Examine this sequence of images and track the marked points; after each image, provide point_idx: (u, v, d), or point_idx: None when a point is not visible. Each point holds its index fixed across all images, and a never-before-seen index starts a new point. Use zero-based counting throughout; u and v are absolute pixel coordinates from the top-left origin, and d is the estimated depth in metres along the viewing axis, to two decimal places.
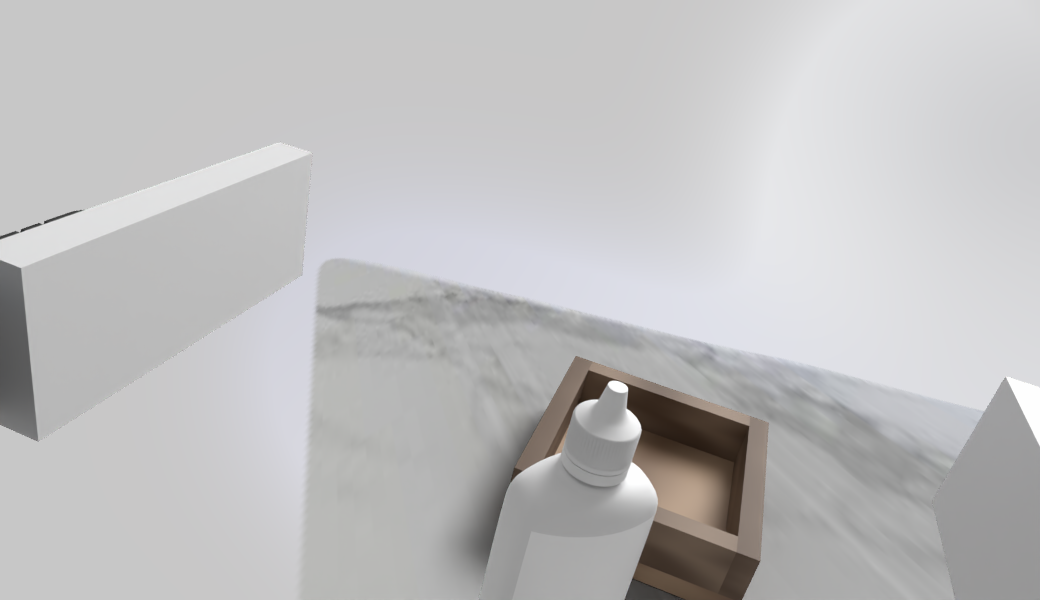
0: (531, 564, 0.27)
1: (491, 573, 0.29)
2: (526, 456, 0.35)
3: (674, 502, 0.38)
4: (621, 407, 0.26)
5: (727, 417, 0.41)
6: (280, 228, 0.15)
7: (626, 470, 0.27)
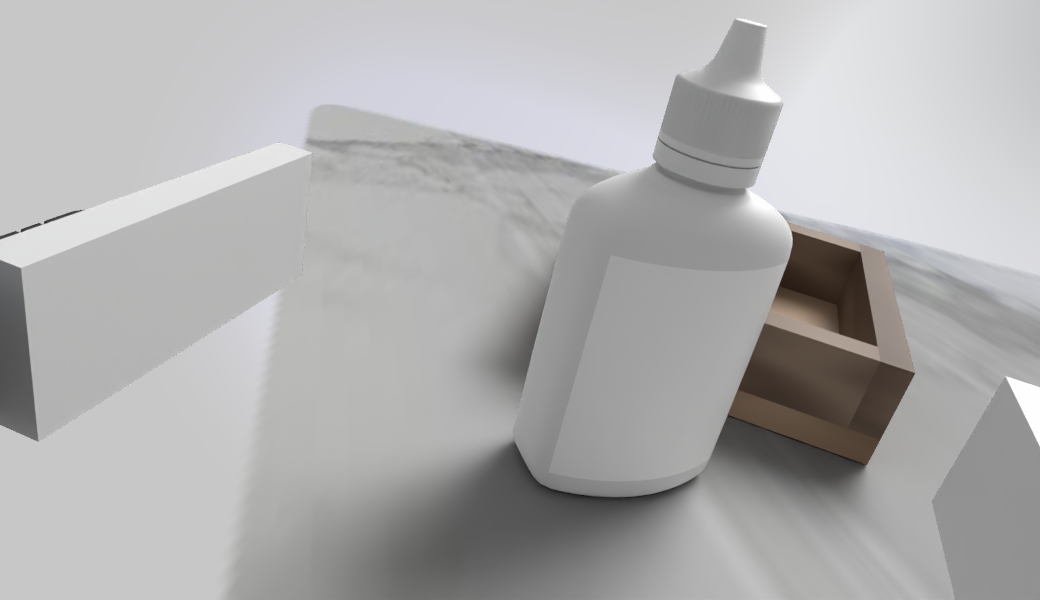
0: (607, 317, 0.18)
1: (541, 353, 0.20)
2: None
3: None
4: (757, 53, 0.17)
5: (830, 242, 0.32)
6: (280, 228, 0.15)
7: (757, 167, 0.17)
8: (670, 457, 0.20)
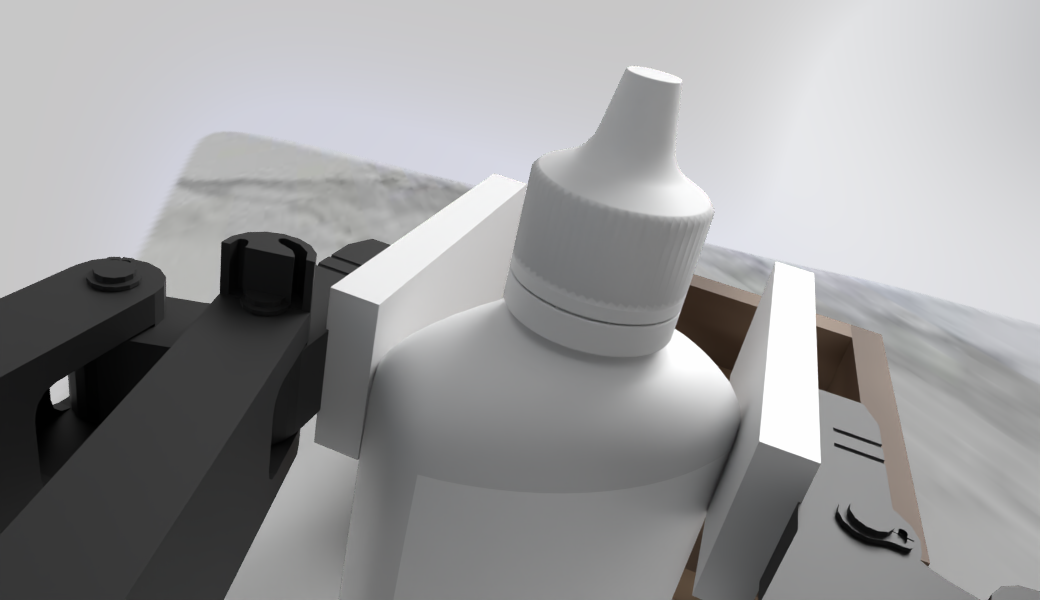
0: (423, 565, 0.11)
1: (347, 585, 0.12)
2: None
3: None
4: (663, 129, 0.09)
5: None
6: (500, 255, 0.16)
7: (672, 318, 0.10)
8: None
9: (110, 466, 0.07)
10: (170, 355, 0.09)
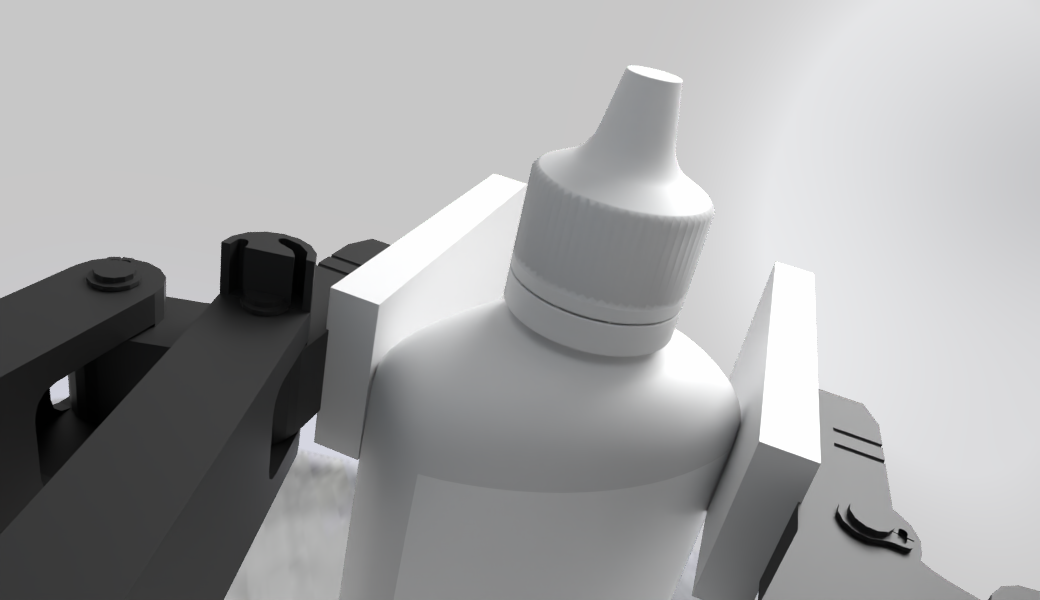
0: (424, 565, 0.11)
1: (347, 584, 0.12)
2: None
3: None
4: (664, 128, 0.09)
5: None
6: (500, 255, 0.16)
7: (672, 317, 0.10)
8: None
9: (110, 466, 0.07)
10: (170, 355, 0.09)
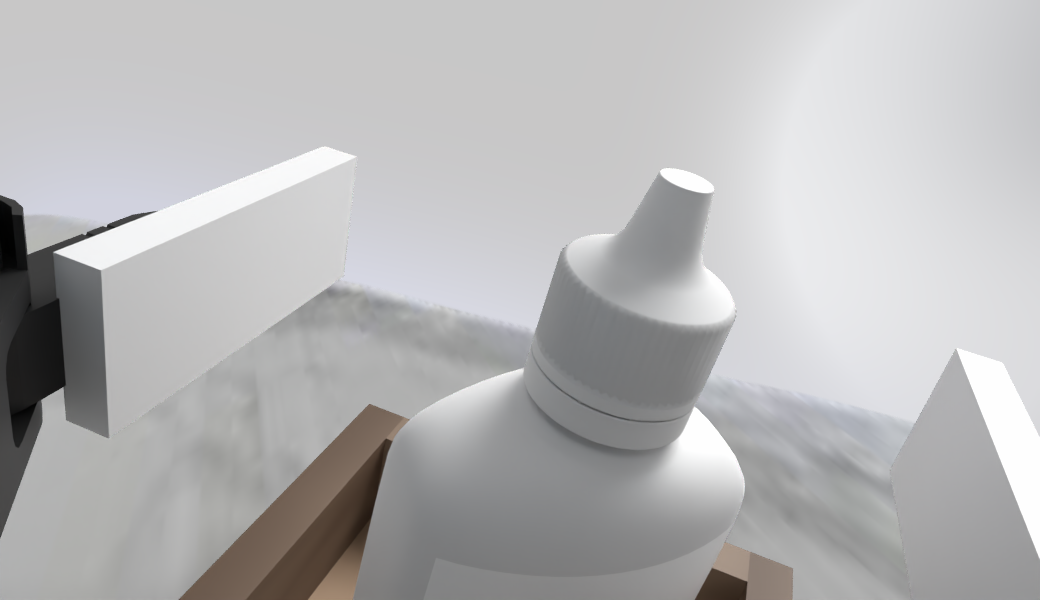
0: None
1: None
2: None
3: None
4: (694, 236, 0.09)
5: None
6: (326, 230, 0.15)
7: (689, 410, 0.10)
8: None
9: None
10: None
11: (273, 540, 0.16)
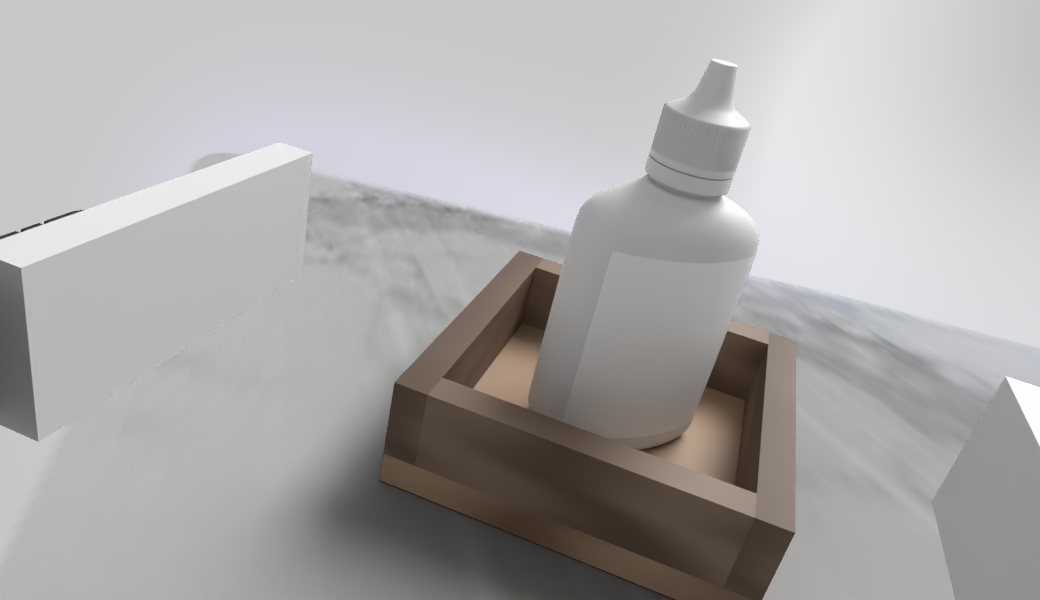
0: (609, 301, 0.22)
1: (553, 332, 0.24)
2: (418, 368, 0.22)
3: (656, 450, 0.25)
4: (729, 87, 0.21)
5: (735, 332, 0.28)
6: (280, 228, 0.15)
7: (730, 178, 0.21)
8: (660, 418, 0.24)
9: None
10: None
11: (489, 305, 0.26)
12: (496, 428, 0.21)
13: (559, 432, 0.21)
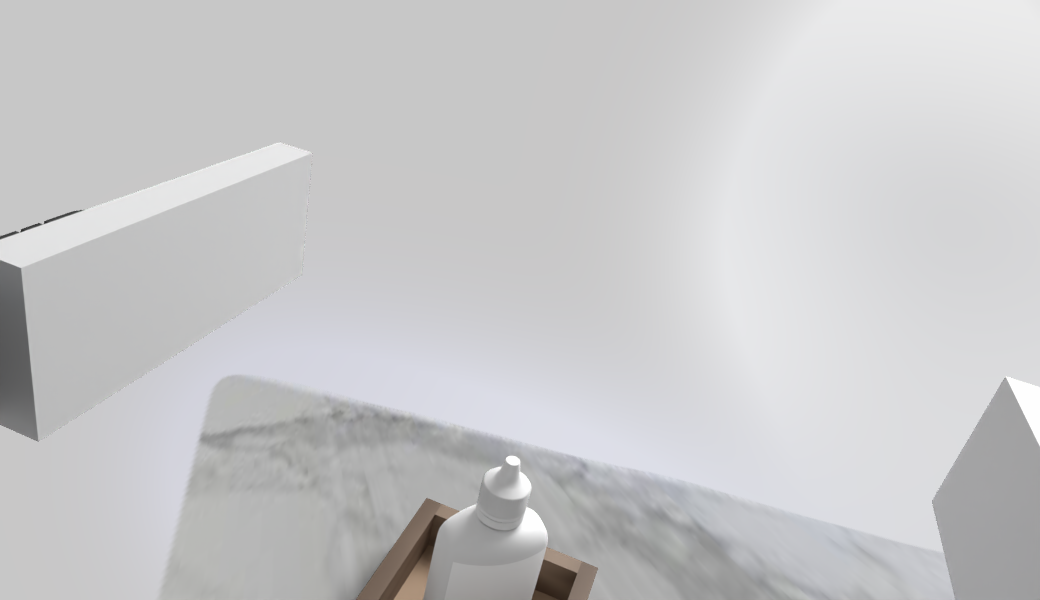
0: (454, 585, 0.38)
1: (428, 590, 0.40)
2: None
3: None
4: (515, 475, 0.37)
5: (557, 564, 0.45)
6: (280, 228, 0.15)
7: (520, 518, 0.38)
8: None
9: None
10: None
11: (397, 557, 0.43)
12: None
13: None
